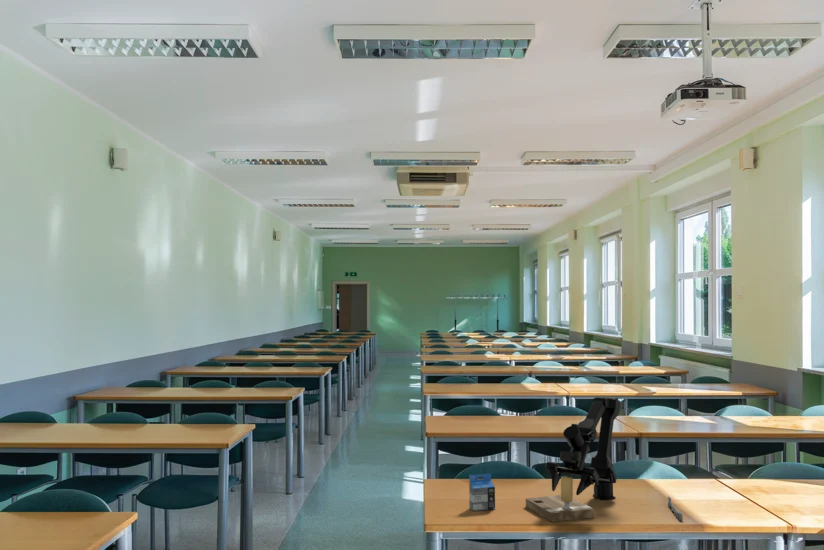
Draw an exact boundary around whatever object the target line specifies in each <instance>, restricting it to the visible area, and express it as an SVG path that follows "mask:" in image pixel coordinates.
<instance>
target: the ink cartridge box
mask: <svg viewBox="0 0 824 550" xmlns="http://www.w3.org/2000/svg"><path fill="white" fill-rule="evenodd" d="M468 476H469V477H468V478H469V482H468V483H469V486H468V488H469V492H468V495H469V497H468V499H469V500H468V504H469V506H468V507H469V510H471V511H472V512H478V511H480V512H481V511H489V510H490V511H491V510H496V487H495V485H494V484H493V481H492V473H480V474H469V475H468ZM478 478H479V479H478Z"/></svg>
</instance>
